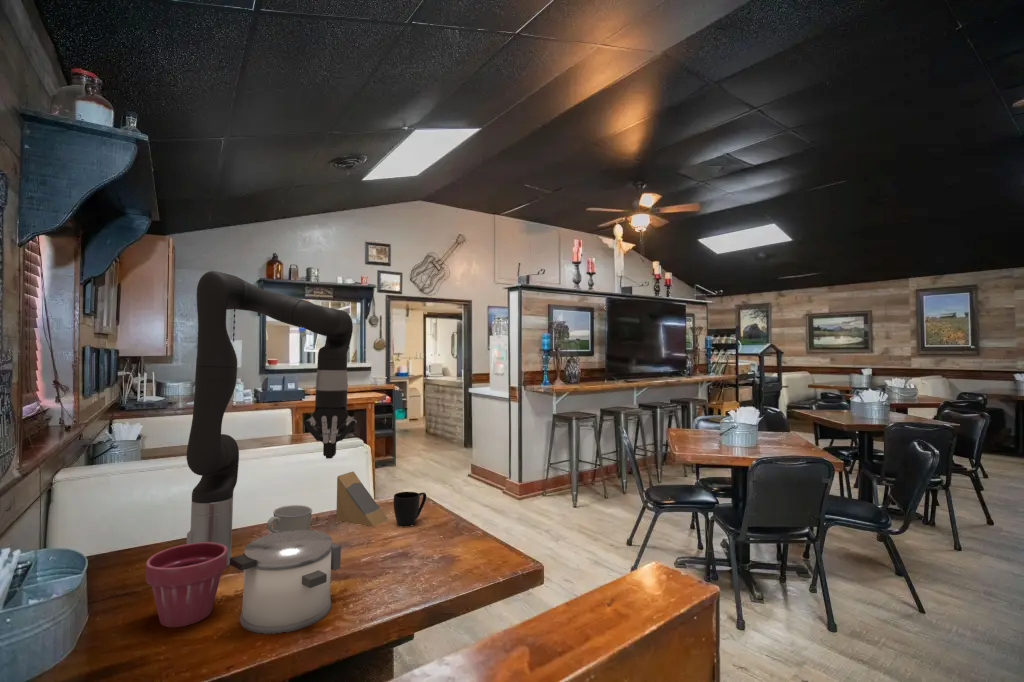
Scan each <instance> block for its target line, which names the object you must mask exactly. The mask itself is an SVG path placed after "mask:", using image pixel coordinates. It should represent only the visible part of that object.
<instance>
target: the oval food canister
mask: <svg viewBox="0 0 1024 682" xmlns="http://www.w3.org/2000/svg"><path fill="white" fill-rule="evenodd" d="M341 549H342V546H341V544H340V545H339V544H338V543H335V542H333V541H331V551H330V553H329V554H328V555H327V556H325V557H324V558H322V559H320V560H318V561H316V562H313V563H310V564H307V565H303V566H299V567H294V568H288V569H277V570H267V569H258V568H254V567H252V568H249V569H246V570H243V582H242V583H243V584H242V586H243V587H242V588H243V589H242V609H241V612H240V621H239V622H240V625H241V626H242V628H244V629H245V630H246V629H247V631H248V630H249V632H251V631H252V633H255V632H256V633H255V634H260V633H264V634H263V635H277V634H276V633H278V634H283V633H282V632H286V633H291V632H295V631H297V630H302V629H304V628H307V627H309V626H311V625H314V624H315V623H318V622H319V621H320V620H322V619H324V618H325V617H326V616H327V614H328V613H330V610H331V608H332V597H331V576H332V575H331V573H332V572H331V570H332V571H337V570H339V569H341V553H342V550H341ZM271 633H272V634H271Z"/></svg>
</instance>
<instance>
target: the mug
mask: <svg viewBox="0 0 1024 682" xmlns="http://www.w3.org/2000/svg"><path fill="white" fill-rule="evenodd" d="M420 496H422V500H421V503H420ZM426 501H427V494H426V492H423V491H422V492H415V491H401V492H398V493H397V492H396V493H395V494H394V495H393V511H394V517H395V520H396V523H397V526H398V525H399V526H398V527H400V526H410V527H412V526H411V525H413V526H414V525H415V524H416V521H417V519H418V518H419V516H420V514H421V513H422V510H423V508H424V505H425V502H426Z"/></svg>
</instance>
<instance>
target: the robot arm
mask: <svg viewBox="0 0 1024 682" xmlns="http://www.w3.org/2000/svg"><path fill="white" fill-rule="evenodd" d="M197 283H198V284H197V286H196V287H197V288H196V308H197V347H196V348H197V352H196V353H197V354H196V363H195V375H194V377H195V378H194V397H193V408H192V420H191V427H190V432H189V436H188V442H187V448H186V463H187V466H188V468H189V469H190V471H191V472H192V473H194V474H195V475H197V476H201V477H200V480H199V481H198V483H197V484H196V485H195V486H194V488H193V489H192V491H191V507H190V508H191V510H190V511H191V512H190V514H191V515H190V530H189V531H188V532H187V533H186V544H190V543H199V542H214V543H220V544H223V545H225V546H226V547H227V567H229V566H230V558H232V544H233V543H232V541H233V539H232V538H233V516H234V515H233V513H234V511H233V510H234V491H235V488H236V486H237V482H238V475H239V464H240V463H239V462H240V450H239V445H238V443H237V441H236V439H235V438H233V437H232V436H231V435H229V434H226V433H222V425H223V424H222V423H223V419H224V416H225V413H226V410H227V407H228V405H229V403H230V402H231V399H232V397H233V395H234V392H235V390H236V385H237V380H238V379H237V378H238V357H237V354H236V350H235V348H234V346H233V343H232V341H231V339H230V336H229V334H228V329H227V310H229V311H231V310H238V311H247V312H255V313H258V314H262V315H264V316H266V317H269V318H271V319H273V320H275V321H278V322H281V323H283V324H287V325H291V326H294V327H297V328H301V329H305V330H307V331H310V332H312V333H315V334H318V335H320V336H323V337H325V343H324V346H322V347H320V348H319V349H318V352H317V365H316V367H317V370H316V377H315V399H314V401H315V402H314V411H313V412H312V416H311V417H309V418H308V419H306V420H304V421H303V426H304V427H305V428H306V429H307V430H308V432H309V433H310V435H312V437H313V438H314V439H315V441H317V442H321V443H322V445H323V446H322V447H323V450H322V451H323V453H322V454H323V457H325V459H327V460H328V459H333V458H334V457H335V456H336V455H337V443H338V442H339V441H340V442H341V441H343V440H344V439H345V438H346V437H347V435H348V434H349V433H350V431H352V430H353V428H354V427H355V425H357V422H358V421H357V420H356V419H353V418H352V417H351V416H350V413H349V411H348V388H349V383H348V381H349V380H348V351H349V349H350V346H351V340H352V336H353V331H354V325H353V320H352V317H351V315H350V314H349V313H348V312H347V311H345V310H342V309H337V308H333V307H329V306H323V305H318V304H314V303H313V302H310V301H309V300H305V299H302V298H298V297H296V296H295V297H294V296H291V295H287V294H281V293H277V292H274V291H270V290H266V289H263V288H261V287H258V286H256V285H254V284H252V283H250V282H248V281H246V280H244V279H242V278H240V277H238V276H237V275H233V274H229V273H225V272H222V271H216V270H211V271H207V272H205V273H204V274H202V276H201V277H200V278H199V280H198V282H197ZM345 421H346V423H345ZM316 423H317V425H318V426H319V428H321V430H322V433H321V431H319V429H318V428H317V427H316V426H315V425H316ZM343 424H345V426H346V427H345V428H344V429H343V431H342V432H341V434H340V435H338V433H339V429H340V428H341V427H342V426H343Z"/></svg>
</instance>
